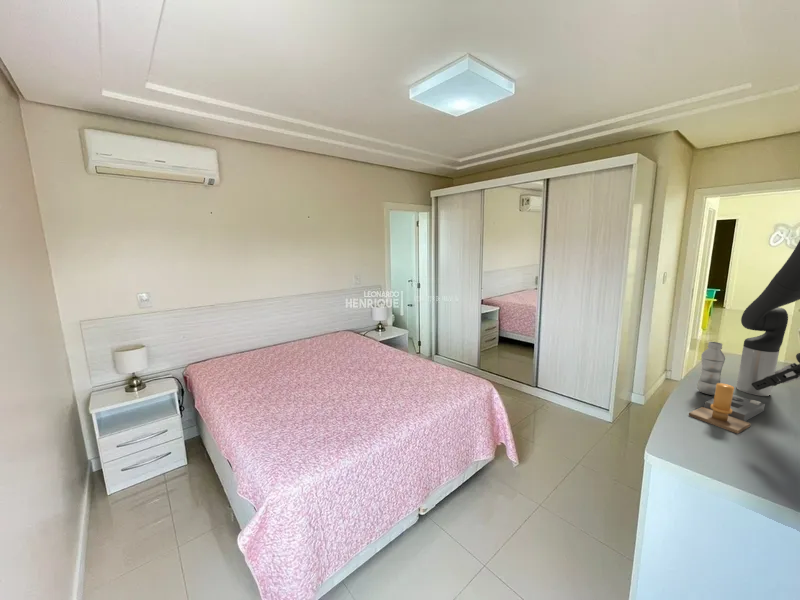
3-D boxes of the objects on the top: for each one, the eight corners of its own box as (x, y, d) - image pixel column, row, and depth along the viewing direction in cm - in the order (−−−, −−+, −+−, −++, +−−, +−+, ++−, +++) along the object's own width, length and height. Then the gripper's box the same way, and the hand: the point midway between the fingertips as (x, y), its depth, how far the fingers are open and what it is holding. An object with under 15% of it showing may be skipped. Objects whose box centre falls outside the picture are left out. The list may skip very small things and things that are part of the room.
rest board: (701, 409, 113) (702, 406, 113) (750, 426, 103) (750, 423, 102) (688, 415, 109) (689, 412, 109) (737, 433, 99) (738, 430, 98)
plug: (712, 412, 109) (718, 381, 107) (733, 419, 105) (739, 387, 103) (706, 416, 107) (711, 384, 105) (726, 423, 102) (732, 390, 100)
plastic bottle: (724, 398, 121) (733, 346, 118) (703, 396, 123) (711, 345, 120) (711, 390, 128) (719, 341, 124) (691, 389, 129) (699, 340, 126)
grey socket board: (725, 398, 121) (726, 390, 120) (763, 410, 112) (765, 402, 112) (703, 408, 114) (705, 400, 113) (743, 422, 105) (745, 413, 104)
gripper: (825, 342, 90) (759, 368, 102) (807, 349, 83) (738, 376, 95) (854, 367, 86) (781, 391, 98) (836, 376, 79) (761, 401, 91)
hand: (760, 384), depth 96 cm, fingers open, 8 cm apart
